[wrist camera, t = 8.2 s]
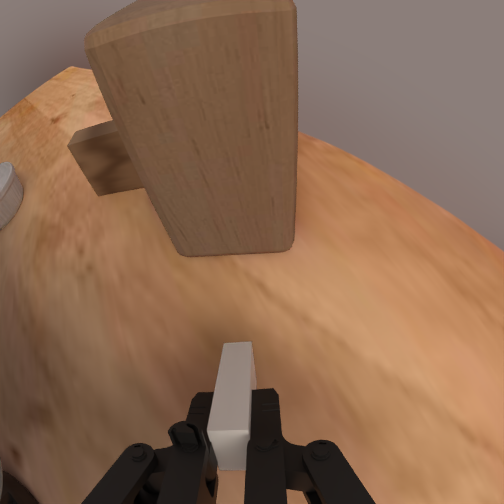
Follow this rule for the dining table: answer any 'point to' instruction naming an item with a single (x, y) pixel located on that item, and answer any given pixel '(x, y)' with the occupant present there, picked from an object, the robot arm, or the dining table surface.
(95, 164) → the board
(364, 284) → the dining table surface
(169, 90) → the block
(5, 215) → the ramekin
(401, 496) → the dining table surface
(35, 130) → the dining table surface
